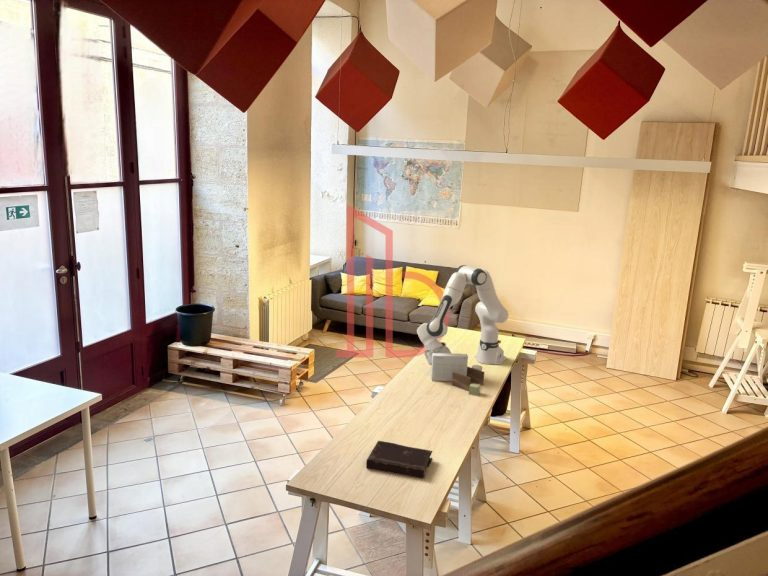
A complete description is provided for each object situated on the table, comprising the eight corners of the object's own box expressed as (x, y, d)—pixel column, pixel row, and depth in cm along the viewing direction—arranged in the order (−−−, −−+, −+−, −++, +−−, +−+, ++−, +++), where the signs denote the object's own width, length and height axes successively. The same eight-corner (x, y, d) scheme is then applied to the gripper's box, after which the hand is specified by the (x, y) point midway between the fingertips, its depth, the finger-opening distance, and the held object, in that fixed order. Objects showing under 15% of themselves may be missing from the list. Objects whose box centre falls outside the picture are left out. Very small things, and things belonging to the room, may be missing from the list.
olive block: (470, 391, 343) (471, 383, 342) (479, 393, 341) (480, 384, 340) (468, 394, 339) (469, 386, 338) (477, 396, 337) (478, 387, 336)
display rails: (466, 379, 362) (467, 366, 360) (483, 384, 354) (484, 371, 352) (451, 385, 351) (452, 372, 349) (468, 391, 343) (469, 378, 341)
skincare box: (464, 378, 363) (466, 353, 359) (466, 381, 358) (468, 356, 354) (430, 377, 362) (432, 352, 358) (431, 381, 356) (433, 355, 352)
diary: (423, 481, 247) (424, 470, 246) (366, 470, 254) (366, 459, 253) (432, 459, 265) (433, 448, 264) (378, 449, 271) (378, 439, 270)
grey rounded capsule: (474, 376, 366) (475, 364, 365) (483, 379, 363) (484, 366, 361) (469, 379, 362) (470, 366, 360) (477, 381, 358) (478, 369, 356)
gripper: (426, 348, 357) (438, 368, 352) (446, 342, 371) (458, 361, 367) (420, 354, 361) (431, 373, 356) (440, 347, 375) (452, 366, 371)
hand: (445, 367), depth 362 cm, fingers closed
